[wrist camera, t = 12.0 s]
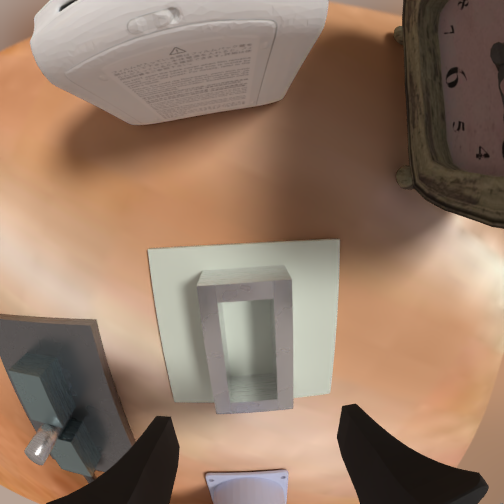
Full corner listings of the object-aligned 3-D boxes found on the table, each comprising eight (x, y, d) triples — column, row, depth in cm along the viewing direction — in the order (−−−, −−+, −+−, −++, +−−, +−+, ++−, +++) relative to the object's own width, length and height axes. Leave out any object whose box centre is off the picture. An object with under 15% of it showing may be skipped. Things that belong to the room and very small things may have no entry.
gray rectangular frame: (287, 382, 21) (293, 408, 18) (218, 387, 21) (216, 414, 18) (284, 264, 19) (292, 279, 16) (203, 270, 19) (196, 286, 16)
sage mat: (328, 390, 22) (330, 393, 21) (175, 399, 21) (174, 402, 21) (337, 238, 19) (339, 239, 19) (149, 248, 19) (147, 249, 18)
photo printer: (280, 47, 16) (327, -87, 4) (291, 106, 17) (369, 2, 5) (124, 75, 16) (13, -15, 4) (129, 134, 17) (-6, 86, 5)
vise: (149, 472, 24) (135, 527, 16) (56, 453, 23) (32, 496, 16) (96, 319, 20) (45, 375, 12) (-7, 313, 19) (-58, 348, 12)
